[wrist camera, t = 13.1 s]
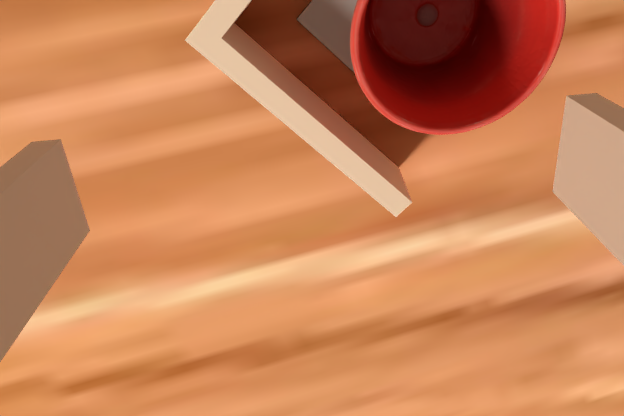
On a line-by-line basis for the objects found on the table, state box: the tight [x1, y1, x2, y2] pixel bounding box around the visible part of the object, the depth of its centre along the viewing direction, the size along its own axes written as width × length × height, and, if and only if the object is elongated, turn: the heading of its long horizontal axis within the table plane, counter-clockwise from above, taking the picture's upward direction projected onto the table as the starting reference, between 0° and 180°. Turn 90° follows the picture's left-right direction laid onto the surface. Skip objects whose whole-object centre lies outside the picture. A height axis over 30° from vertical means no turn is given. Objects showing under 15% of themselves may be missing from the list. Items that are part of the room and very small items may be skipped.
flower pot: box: [350, 0, 566, 135], centre depth 31 cm, size 11×11×10 cm
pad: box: [297, 0, 420, 133], centre depth 36 cm, size 12×12×1 cm
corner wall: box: [185, 0, 412, 217], centre depth 33 cm, size 18×18×6 cm
